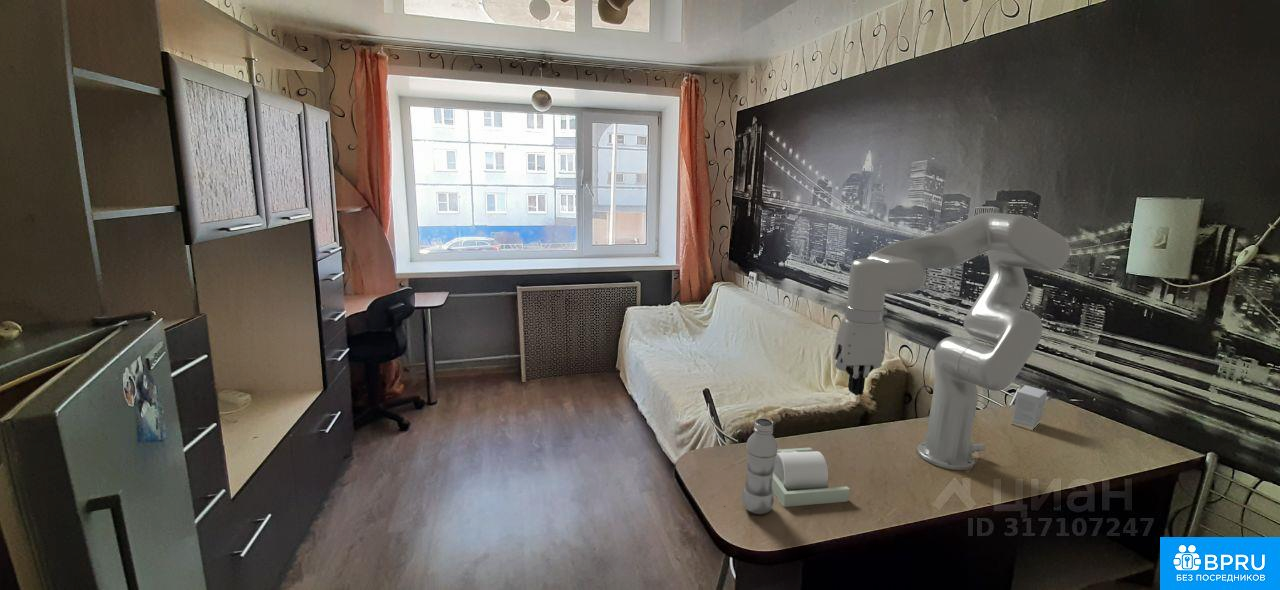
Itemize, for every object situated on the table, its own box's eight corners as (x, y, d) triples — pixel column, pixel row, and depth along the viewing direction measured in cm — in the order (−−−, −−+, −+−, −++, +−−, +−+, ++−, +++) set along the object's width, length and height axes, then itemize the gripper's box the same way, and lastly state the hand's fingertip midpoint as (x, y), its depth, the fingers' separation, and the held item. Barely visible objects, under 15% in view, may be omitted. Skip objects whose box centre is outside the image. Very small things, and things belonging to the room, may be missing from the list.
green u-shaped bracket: (809, 458, 132) (810, 447, 131) (848, 501, 114) (849, 489, 114) (752, 462, 129) (753, 451, 129) (783, 506, 112) (784, 494, 111)
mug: (826, 495, 117) (830, 462, 115) (783, 497, 115) (786, 464, 114) (804, 466, 128) (807, 436, 126) (764, 467, 127) (767, 437, 125)
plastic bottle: (778, 508, 111) (786, 421, 107) (762, 523, 106) (770, 433, 102) (751, 495, 116) (758, 412, 111) (735, 509, 111) (741, 422, 106)
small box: (1018, 417, 158) (1024, 384, 156) (1040, 423, 154) (1047, 390, 152) (1010, 424, 153) (1016, 391, 151) (1033, 431, 149) (1040, 397, 146)
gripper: (884, 309, 120) (875, 384, 125) (824, 311, 118) (816, 388, 122) (905, 318, 113) (895, 397, 117) (842, 321, 111) (833, 401, 115)
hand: (855, 392), depth 120 cm, fingers closed
